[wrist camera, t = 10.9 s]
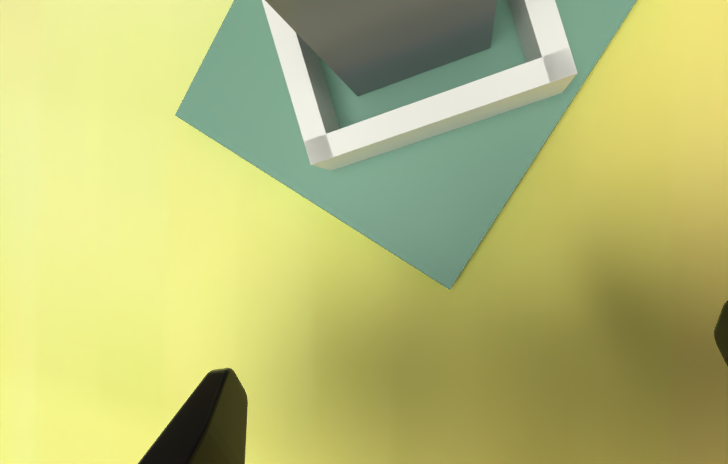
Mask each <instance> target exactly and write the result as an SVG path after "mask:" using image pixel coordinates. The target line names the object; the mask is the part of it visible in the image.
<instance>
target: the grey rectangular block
mask: <svg viewBox="0 0 728 464" xmlns="http://www.w3.org/2000/svg"><path fill="white" fill-rule="evenodd" d="M265 1H266V2H267V3H268V4H269V5H270V6H271V7H272V8H273V9H274V10H275V11H276V12H277V13H278V14H279V15H280V16H281V17H282V18H283V20H284V21H285V22H286V23H287V24H288V25H289V26H290V27H291V28H292V29H293V30H294V31H295V32H296V33H297V34H298V35H299V36H300V37H301V38H302V39H303V40H304V41H305V42H306V43H307V44H308V46H309V47H310V48H311V49H312V50H313V51H314V52H315V53H316V54H317V55H318V56H319V57H320V58H321V59H322V60H323V61H324V62H325V63H326V64H327V65H328V66H329V67H330V68H331V69H332V70H333V71H334V73H335V74H336V75H337V76H338V77H339V78H340V79H341V80H342V81H343V82H344V83H345V84H346V85H347V86H348V87H349V88H350V89H351V90H352V91H353V92H354V93H355V94H356V95H357V96H360V95H363V94H365V93H368V92H371V91H374V90H376V89H379V88H382V87H385V86H387V85H390V84H393V83H396V82H398V81H401V80H404V79H406V78H409V77H412V76H415V75H417V74H420V73H423V72H426V71H428V70H431V69H434V68H437V67H439V66H442V65H445V64H447V63H450V62H453V61H456V60H458V59H461V58H464V57H467V56H469V55H472V54H475V53H478V52H480V51H483V50H486V49H489V48H490V47H491V40H492V32H493V25H494V18H495V11H496V3H497V0H265Z"/></svg>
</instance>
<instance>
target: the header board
mask: <svg viewBox="0 0 728 464" xmlns="http://www.w3.org/2000/svg"><path fill="white" fill-rule="evenodd" d="M636 1H637V0H497V3H496V11H495V18H494V25H493V32H492V40H491V47H490V48H489V49H486V50H483V51H480V52H478V53H475V54H472V55H469V56H467V57H464V58H461V59H458V60H456V61H453V62H450V63H447V64H445V65H442V66H439V67H437V68H434V69H431V70H428V71H426V72H423V73H420V74H417V75H415V76H412V77H409V78H406V79H404V80H401V81H398V82H396V83H393V84H390V85H387V86H385V87H382V88H379V89H376V90H374V91H371V92H368V93H365V94H363V95H360V96H357V95H356V94H355V93H354V92H353V91H352V90H351V89H350V88H349V87H348V86H347V85H346V84H345V83H344V82H343V81H342V80H341V79H340V78H339V77H338V76H337V75H336V74H335V73H334V71H333V70H332V69H331V68H330V67H329V66H328V65H327V64H326V63H325V62H324V61H323V60H322V59H321V58H320V57H319V56H318V55H317V54H316V53H315V52H314V51H313V50H312V49H311V48H310V47H309V46H308V44H307V43H306V42H305V41H304V40H303V39H302V38H301V37H300V36H299V35H298V34H297V33H296V32H295V31H294V30H293V29H292V28H291V27H290V26H289V25H288V24H287V23H286V22H285V21H284V20H283V18H282V17H281V16H280V15H279V14H278V13H277V12H276V11H275V10H274V9H273V8H272V7H271V6H270V5H269V4H268V3H267V2H266V1H265V0H234V2H233V4H232V6H231V8H230V9H229V11H228V13H227V15H226V17H225V19H224V21H223V23H222V25H221V27H220V29H219V31H218V33H217V35H216V37H215V39H214V41H213V42H212V44H211V46H210V48H209V50H208V52H207V54H206V56H205V58H204V60H203V62H202V64H201V66H200V68H199V70H198V72H197V74H196V75H195V77H194V79H193V81H192V83H191V85H190V87H189V89H188V91H187V93H186V95H185V97H184V99H183V101H182V103H181V105H180V107H179V109H178V110H177V112H176V114H175V115H176V116H177V117H179V118H180V119H182V120H183V121H185V122H187V123H188V124H190V125H191V126H193V127H194V128H196V129H198V130H199V131H201V132H202V133H204V134H205V135H207V136H209V137H210V138H212V139H213V140H215V141H216V142H218V143H220V144H221V145H223V146H224V147H226V148H227V149H229V150H231V151H232V152H234V153H235V154H237V155H238V156H240V157H242V158H243V159H245V160H246V161H248V162H249V163H251V164H253V165H254V166H256V167H257V168H259V169H260V170H262V171H264V172H265V173H267V174H268V175H270V176H271V177H273V178H275V179H276V180H278V181H279V182H281V183H282V184H284V185H286V186H287V187H289V188H290V189H292V190H293V191H295V192H297V193H298V194H300V195H301V196H303V197H304V198H306V199H308V200H309V201H311V202H312V203H314V204H316V205H317V206H319V207H320V208H322V209H323V210H325V211H327V212H328V213H330V214H331V215H333V216H334V217H336V218H338V219H339V220H341V221H342V222H344V223H345V224H347V225H349V226H350V227H352V228H353V229H355V230H356V231H358V232H360V233H361V234H363V235H364V236H366V237H367V238H369V239H371V240H372V241H374V242H375V243H377V244H378V245H380V246H382V247H383V248H385V249H386V250H388V251H389V252H391V253H393V254H394V255H396V256H397V257H399V258H400V259H402V260H404V261H405V262H407V263H408V264H410V265H411V266H413V267H415V268H416V269H418V270H419V271H421V272H422V273H424V274H426V275H427V276H429V277H430V278H432V279H433V280H435V281H437V282H438V283H440V284H441V285H443V286H444V287H446V288H448V289H449V290H450V289H451V287H452V285H453V284H454V282H455V281H456V279H457V278H458V276H459V275H460V273H461V272H462V270H463V268H464V267H465V265H466V264H467V262H468V261H469V259H470V258H471V256H472V254H473V253H474V251H475V250H476V248H477V247H478V245H479V244H480V242H481V241H482V239H483V237H484V236H485V234H486V233H487V231H488V230H489V228H490V227H491V225H492V224H493V222H494V220H495V219H496V217H497V216H498V214H499V213H500V211H501V210H502V208H503V206H504V205H505V203H506V202H507V200H508V199H509V197H510V196H511V194H512V193H513V191H514V189H515V188H516V186H517V185H518V183H519V182H520V180H521V179H522V177H523V176H524V174H525V172H526V171H527V169H528V168H529V166H530V165H531V163H532V162H533V160H534V158H535V157H536V155H537V154H538V152H539V151H540V149H541V148H542V146H543V145H544V143H545V141H546V140H547V138H548V137H549V135H550V134H551V132H552V131H553V129H554V128H555V126H556V124H557V123H558V121H559V120H560V118H561V117H562V115H563V114H564V112H565V111H566V109H567V107H568V106H569V104H570V103H571V101H572V100H573V98H574V97H575V95H576V93H577V92H578V90H579V89H580V87H581V86H582V84H583V83H584V81H585V80H586V78H587V76H588V75H589V73H590V72H591V70H592V69H593V67H594V66H595V64H596V63H597V61H598V59H599V58H600V56H601V55H602V53H603V52H604V50H605V49H606V47H607V45H608V44H609V42H610V41H611V39H612V38H613V36H614V35H615V33H616V32H617V30H618V28H619V27H620V25H621V24H622V22H623V21H624V19H625V18H626V16H627V15H628V13H629V11H630V10H631V8H632V7H633V5H634V4H635V2H636Z"/></svg>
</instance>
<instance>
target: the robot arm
mask: <svg viewBox="0 0 728 464" xmlns="http://www.w3.org/2000/svg"><path fill="white" fill-rule="evenodd" d="M714 337H715V341H716V344H717V346H718V348H719V350H720V352H721V354H722V356H723V358H724V360H725V362H726V364H727V366H728V301H727V302H726V303H725V304H724V306H723V308H722V311H721V314H720V316H719V319H718V322H717V324H716V327H715V330H714ZM247 405H248V402H247V395H246V392H245V390H244V388H243V386H242V385H241V383H240V381H239V379H238V377H237V376H236V374H235V372H234V371H233V370H232V369H230V368H224V369H217V370H212V371H210V372H209V373H208V374H207V375H206V376H205V377H204V379H203V380H202V381H201V383H200V384H199V385H198V386H197V388H196V389H195V390H194V392H193V393H192V394H191V396H190V397H189V398H188V399H187V401H186V402H185V403H184V405H183V406H182V407H181V409H180V410H179V411H178V412H177V414H176V415H175V416H174V418H173V419H172V420H171V422H170V423H169V424H168V425H167V427H166V428H165V429H164V431H163V432H162V433H161V435H160V436H159V437H158V438H157V440H156V441H155V442H154V444H153V445H152V446H151V447H150V449H149V450H148V451H147V453H146V454H145V455H144V457H143V458H142V459H141V460H140V462H139V463H138V464H245V446H246V426H247Z"/></svg>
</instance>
